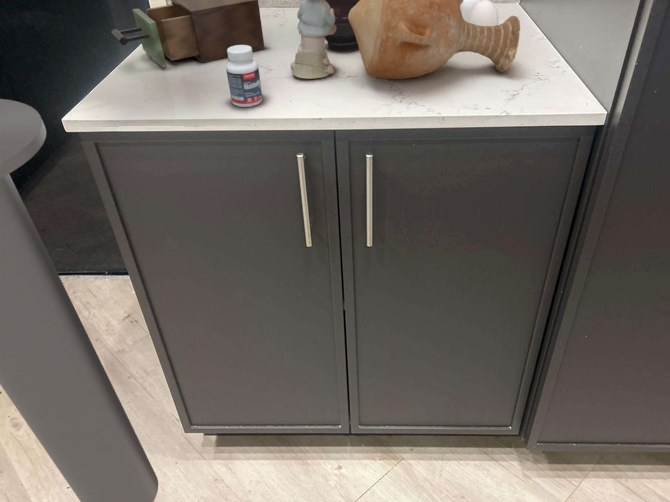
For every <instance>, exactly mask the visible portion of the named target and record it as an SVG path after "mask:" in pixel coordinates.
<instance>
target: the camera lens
mask: <svg viewBox="0 0 670 502" xmlns="http://www.w3.org/2000/svg"><path fill="white" fill-rule="evenodd" d="M325 1H326V2H327V3H328V4H329V6H330V8H332V9H333V10H334V16H335V23H334V24H335V26H336V31H335V33H334V34H332V35H327V36H325V41H326V42H327V48H328V50H330V51H333V52H337V53H342V52H343V53H346V52H353V51H356V50H358V49H359V46H358V43H357V39H356V36H355V33H354V31H353V28H352V26H351V24H350V22H349V19H348V15H349V12H350V10H351V9H352V8H353V7H354V6H355V5H356V4H357V3H358V2H359V1H360V0H325Z"/></svg>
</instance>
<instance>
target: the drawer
mask: <svg viewBox="0 0 670 502" xmlns="http://www.w3.org/2000/svg"><path fill="white" fill-rule="evenodd" d="M132 13H133V16H134V20H135V24H136V27H134V28H128V29H123V30H119V29H116V28H113V29H112V30H111V35H112V36H113V37H114V39H115V40H117V42H118V43H119V44H120V45H122V46H126V45H127V44H128V43H129V42H135V41H139V40H140V43H141V47H142V50H143V51H144V52H145V53H146V54H147V55H148V56H149V57H150V58H151V59H153V61H154V62H155V63H157V64H158V66H160V67H163V66H166V65H167V62H166V57H167V59H169V60H170V61H177V60H181V59H186V58H191V57H195V56H196V55H199V50H198V46H197V41H196V36H195V31H194V27H193V22H192V17H191V14H189V13H188V12H186V11H185V10H183V9H182V8H181V7H179V6H178V5H176V4H172V3H171V4H167V5H161V6H156V7H150V8H146V13H147V14H146V13H145V12H144V11H142V10H141V9H140V8H133V9H132ZM134 33H138V35H134V36H129V37H126V36H125V35H127V34H128V35H129V34H134ZM165 56H166V57H165Z"/></svg>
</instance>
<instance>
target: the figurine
mask: <svg viewBox="0 0 670 502" xmlns="http://www.w3.org/2000/svg"><path fill="white" fill-rule="evenodd" d="M296 14H297V15H296V17H297V19H298V20H299V21H298V23H297V29H298V33H299V35H300V44H299V45H298V49H297V52H296V53H295V57H294V61H293V62H292V63H290V71H291V74H292V75H293V76H295V77H296V78H299V79H310V80H312V79H319V78H320V79H321V78H325V77H328V76H330V75H332V74H334V71H335V70H334V66H333V64H331V63H330V59H329V57H328V53H327V51H326V47H325V45H326V44H325V43H326V42H325V41H326V39H325V36H327V35H332V34H334V33H335V31H336V26H335V24H334V23H335V16H334V10H333V9H332V8H330V6H329V4H328V3H327V2H326V1H325V0H301V3H300V6H299V8H298V10H297V13H296Z"/></svg>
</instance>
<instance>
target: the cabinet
mask: <svg viewBox="0 0 670 502" xmlns="http://www.w3.org/2000/svg"><path fill="white" fill-rule="evenodd" d="M170 2H171V5H172V4H176V5H178V6H179V7H181V8H182V9H183V10H185V11H186V12H188V13H189V14H191V17H192V22H193V27H194V31H195V36H196V41H197V46H198V50H199V55H196V56H194V58H195V59H197V60H198V61H199V62H201V64H203V63H208V62H213V61H217V60H222V59H225V58H226V59H227V58H228V53H227V49H228V48H229V47H231V46H235V45H248V46H250V47H251V48H252V53H254V52H259V51H262V50H265V49H266V48H265V42H264V33H263V26H262V19H261V11H260V4H259V0H170Z"/></svg>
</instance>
